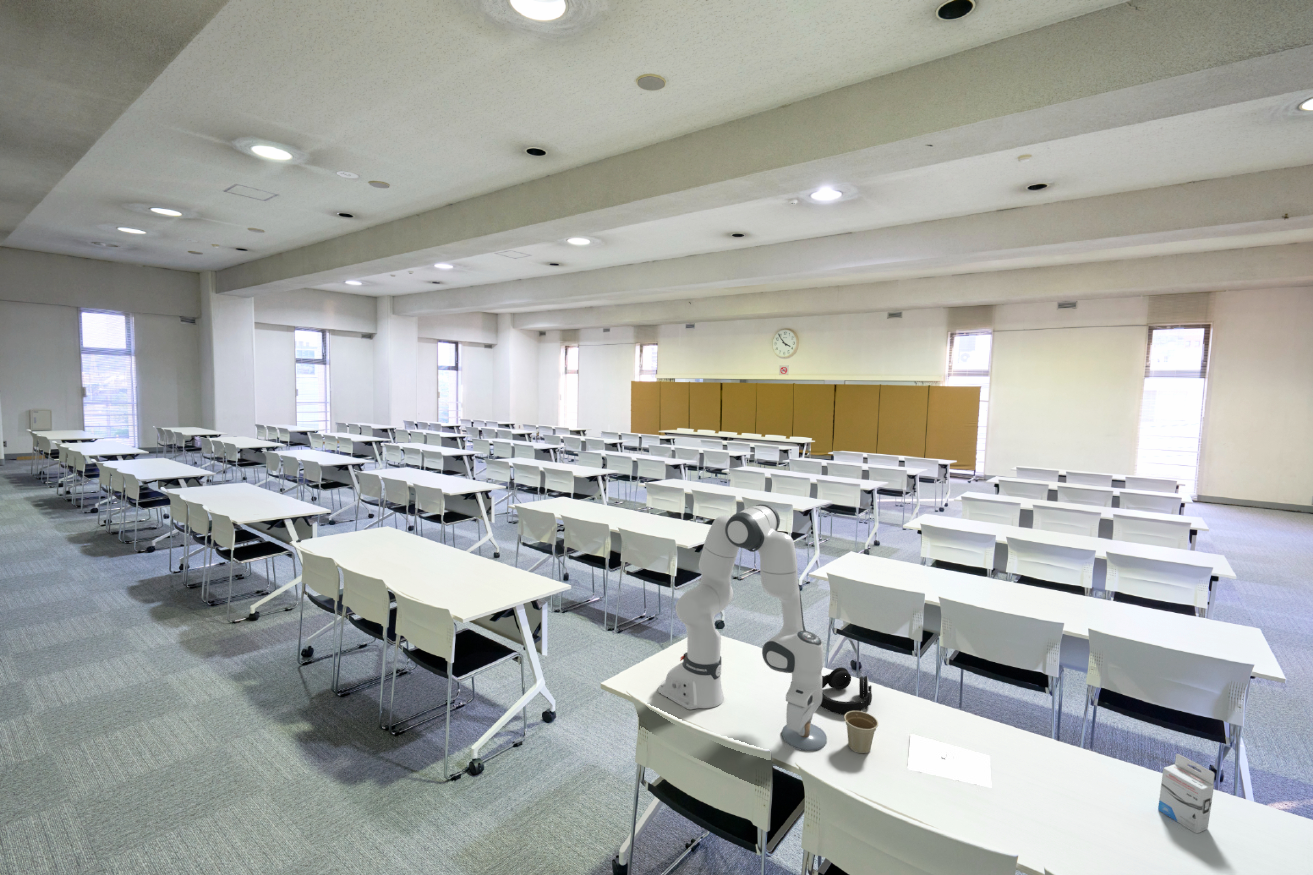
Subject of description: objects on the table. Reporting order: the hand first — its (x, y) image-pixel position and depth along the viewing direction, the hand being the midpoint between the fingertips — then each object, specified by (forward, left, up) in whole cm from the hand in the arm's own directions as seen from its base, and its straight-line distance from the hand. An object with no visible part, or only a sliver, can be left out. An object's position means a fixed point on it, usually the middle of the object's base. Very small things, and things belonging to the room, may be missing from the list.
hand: (804, 730), depth 179 cm
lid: (0, 0, -2) cm, 2 cm away
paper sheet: (+38, +8, -3) cm, 39 cm away
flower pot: (+15, +5, -2) cm, 16 cm away
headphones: (+3, +28, -3) cm, 28 cm away
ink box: (+89, +24, -2) cm, 92 cm away
